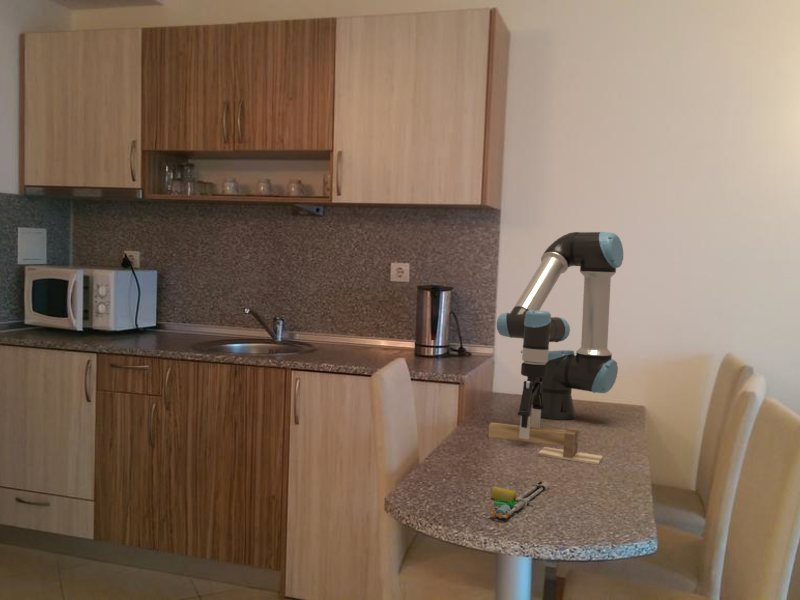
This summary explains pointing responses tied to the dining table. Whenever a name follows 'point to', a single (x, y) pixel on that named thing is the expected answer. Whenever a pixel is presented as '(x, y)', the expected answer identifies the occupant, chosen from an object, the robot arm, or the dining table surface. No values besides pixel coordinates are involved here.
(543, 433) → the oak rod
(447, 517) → the dining table surface
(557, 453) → the fulcrum stand
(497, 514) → the flamethrower
